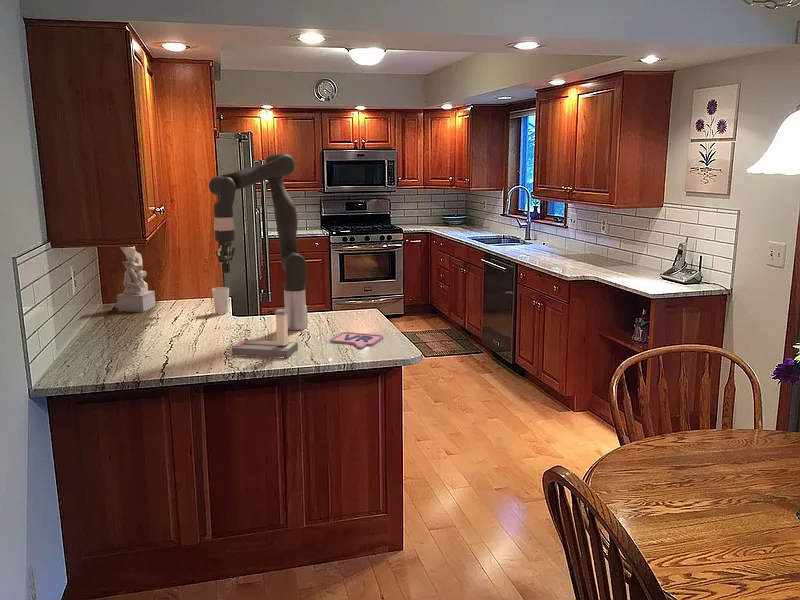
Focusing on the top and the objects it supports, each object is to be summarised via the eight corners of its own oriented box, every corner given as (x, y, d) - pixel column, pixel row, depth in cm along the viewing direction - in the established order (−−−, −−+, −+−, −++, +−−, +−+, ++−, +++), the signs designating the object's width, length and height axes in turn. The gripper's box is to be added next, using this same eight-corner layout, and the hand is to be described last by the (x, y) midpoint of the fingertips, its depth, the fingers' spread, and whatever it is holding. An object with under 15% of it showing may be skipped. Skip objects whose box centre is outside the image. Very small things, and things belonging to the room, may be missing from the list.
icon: (323, 343, 267) (343, 331, 286) (323, 346, 267) (343, 334, 286) (367, 347, 261) (385, 335, 280) (367, 351, 261) (384, 338, 280)
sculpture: (155, 306, 339) (150, 237, 332) (143, 312, 326) (138, 240, 319) (130, 305, 340) (125, 237, 333) (117, 311, 327) (111, 240, 320)
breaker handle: (280, 342, 257) (279, 308, 255) (289, 342, 257) (288, 309, 254) (275, 345, 253) (274, 311, 250) (284, 345, 252) (283, 311, 250)
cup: (232, 311, 328) (231, 287, 325) (226, 315, 320) (225, 290, 318) (216, 311, 329) (215, 287, 326) (210, 314, 321) (209, 290, 318)
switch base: (244, 346, 265) (244, 338, 264) (297, 349, 261) (297, 341, 260) (232, 355, 253) (231, 346, 252) (287, 358, 249) (287, 350, 248)
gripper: (222, 227, 267) (225, 269, 271) (207, 230, 254) (210, 275, 258) (240, 227, 266) (242, 270, 269) (226, 230, 253) (228, 275, 257)
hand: (226, 272), depth 264 cm, fingers closed
